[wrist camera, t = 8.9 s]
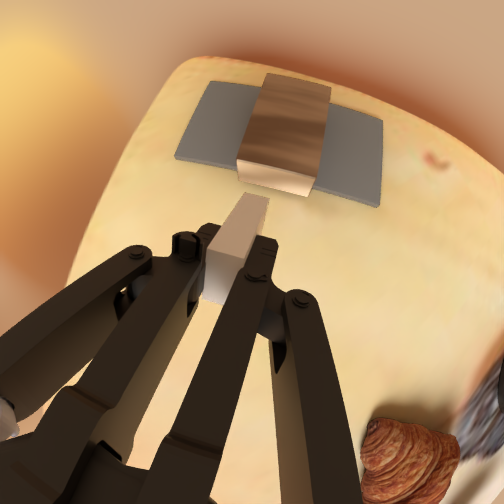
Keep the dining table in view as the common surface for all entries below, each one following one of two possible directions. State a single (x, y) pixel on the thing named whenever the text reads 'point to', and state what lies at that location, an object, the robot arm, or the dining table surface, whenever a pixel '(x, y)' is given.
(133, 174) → the dining table surface
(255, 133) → the walnut block
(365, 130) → the mat
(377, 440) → the pastry
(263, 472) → the dining table surface
